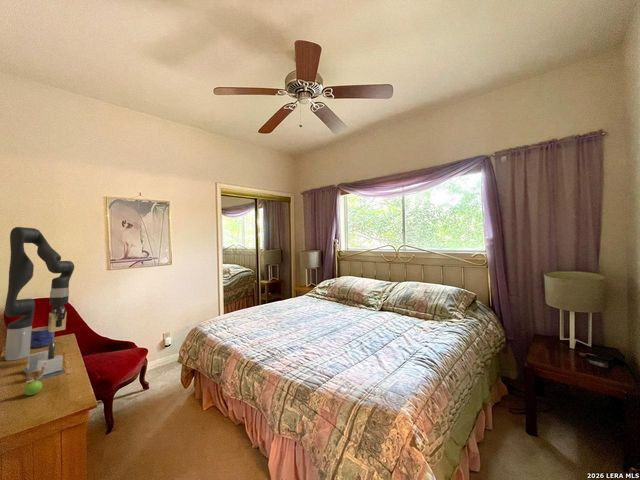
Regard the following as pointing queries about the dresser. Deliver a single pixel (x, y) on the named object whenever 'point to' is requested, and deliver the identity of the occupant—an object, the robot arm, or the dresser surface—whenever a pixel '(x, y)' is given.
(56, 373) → the vise
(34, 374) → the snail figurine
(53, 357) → the free jaw
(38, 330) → the planter
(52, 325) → the brass block
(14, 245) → the robot arm
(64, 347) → the dresser surface
